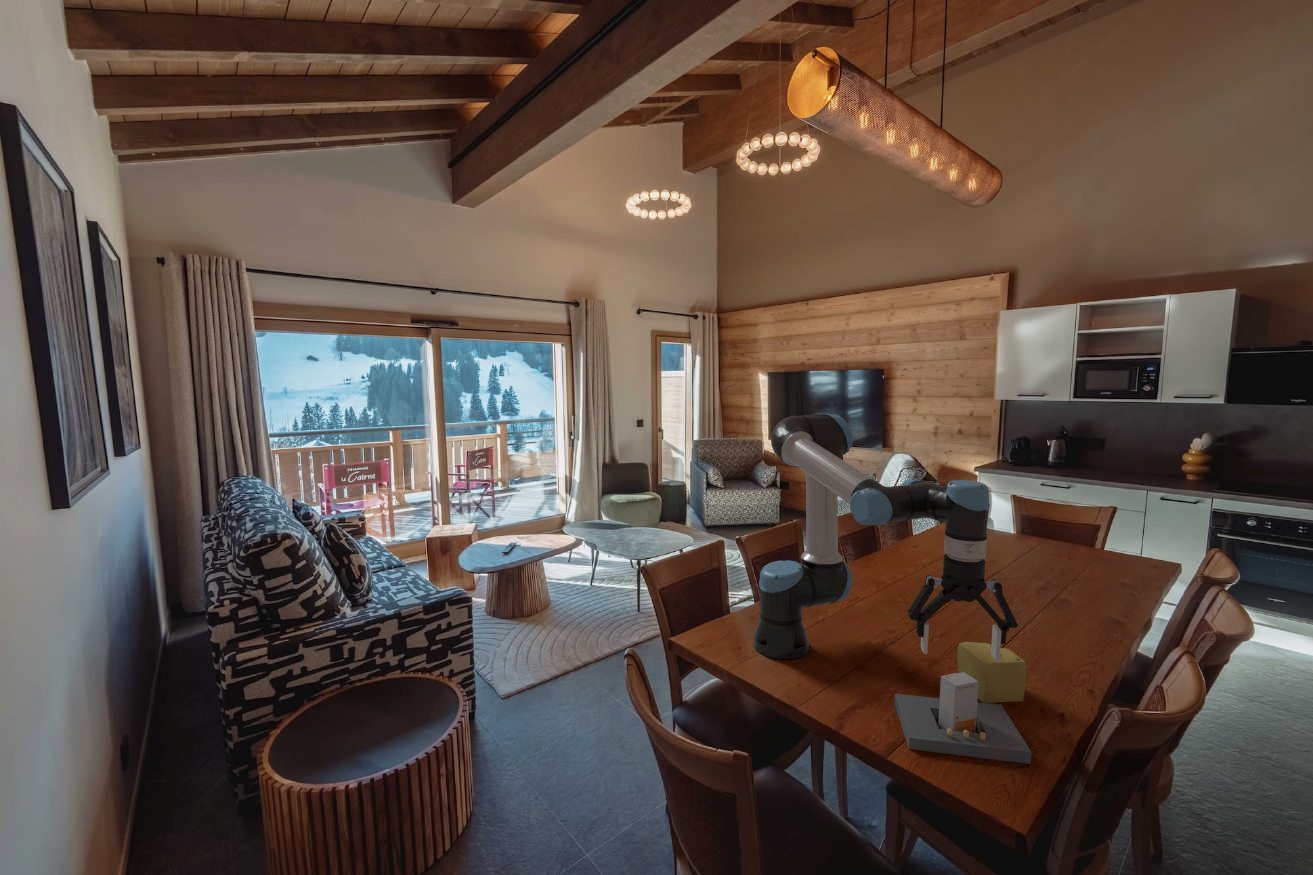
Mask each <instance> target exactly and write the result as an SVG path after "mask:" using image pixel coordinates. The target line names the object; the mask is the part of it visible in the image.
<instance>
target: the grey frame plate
mask: <svg viewBox="0 0 1313 875" xmlns="http://www.w3.org/2000/svg"><path fill="white" fill-rule="evenodd" d="M939 704H940V697H929V696H919V695H913V694H912V695H910V694H903V693H902V694H901V693H894V706H895V710H896V712H897V716H898V718H899V721H900V725H901V728H902V732H903V736H904V738H905V741H906V744H907V747H908V750H911V751H912V750H913V751H921V752H929V753H930V752H931V753H937V754H939V753H940V754H945V755H953V756H954V755H955V756H963V757H970V758H976V759H977V758H978V759H985V760H995V761H1002V762H1010V763H1018V764H1027V765H1031V764H1032V750H1031V749H1030V748H1029V746H1028V744H1027V742H1026V741H1025V740H1024V738H1023V736H1022V735H1021V733H1020V732H1019V730H1018V729H1017V727H1016V725H1015V724H1014V723H1013V721H1012V719H1011V718H1010V716H1009V715H1008V713H1007V712H1006V710H1005V708H1004V707H1003V705H1002V704H997V703H983V702H981V701H980V702H978V701H977V717H976V729H977V731H978V732H979V733H978V732H976V733H972V732H969V731H968V730H964V731H954V730H953V729H951V728H947V730H946V729H940V728H939V727H938V723H937V721H936V720H939Z"/></svg>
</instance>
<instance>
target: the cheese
mask: <svg viewBox="0 0 1313 875" xmlns="http://www.w3.org/2000/svg"><path fill="white" fill-rule="evenodd" d="M991 644H992V643H991ZM991 644H990V643H987V642H973V641H963V642H959V643H958V648H957V654H956V655H957V668H958V669H957V670H958V673H962V672H965V673H966V674H968V675H969V676H971V677H972V678H974V679H975V680H977V681H978V682H979V684H978V699H979V700H980V702H981V703H989V704H997V703H1009V702H1024V698H1025V690H1026V689H1025V688H1026V669H1027V668H1026V666H1027V664H1026V661H1024V659H1022V658H1021V657H1019V655H1017V654H1016V653H1015V652H1013V651H1012V650H1010V649H1009V648H1005V647H1004V648H1003V647H1000V661H995V659H994V658H993V656H992V655H991Z"/></svg>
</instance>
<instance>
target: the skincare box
mask: <svg viewBox="0 0 1313 875" xmlns="http://www.w3.org/2000/svg"><path fill="white" fill-rule="evenodd" d="M978 684H979V682H978V681H977V680H975V679H974V678H972V677H971V676H969V675H968V674H966V673H965V672H962V673H959V672H958V673H957V672H956V673H950V674H945V675H941V676H940V684H939V685H940V687H939V688H940V689H939V698H940V704H939V719H938V723H937V725H938V728H939V729H946V730H947V728H951V729H953V730H954V731H964V730H968V731H969V732H972V733H977V732H976V731H977V730H976V729H977V727H976V717H977V702H978V699H979V698H978Z"/></svg>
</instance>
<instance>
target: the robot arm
mask: <svg viewBox="0 0 1313 875" xmlns="http://www.w3.org/2000/svg"><path fill="white" fill-rule="evenodd" d="M770 436H771V437H770V443H771V444H770V445H771V448H772V451H773V452H774V454H775V455H776V456H777V457H778V459H780V460H781V461H782V462H784V463H785V464H786V465H788V466H791V467H797V468H798V469H799V470H801V471H802V472H804V473H805V493H806V494H805V508H806V509H805V511H806V512H805V513H806V514H805V516H806V518H805V519H806V520H805V521H806V522H805V524H806V526H805V527H806V528H805V530H806V531H805V532H806V538H805V540H806V541H805V542H806V549H805V551H804V552H802V554H801V555H800V563H799V562H797V561H793V560H783V559H782V560H776V561H772V562H769V563H767V564H766V565H764V566H763V567H762V568H761V570H760V574H759V582H758V586H759V619H758V623H757V626H756V628H755V631H754V633H753V647H754V649H755V650H756V652H758V653H760V654H762V656H763V655H764V656H766V657H768V658H771V659H772V658H773V659H778V660H794V659H795V660H796V659H799V658H801V657H803V656H805V655H806V654H808V652H809V648H810V647H809V646H810V645H809V643H810V642H809V639H808V638H809V637H808V635H807V632H806V628H805V625H804V623H803V609H807V608H812V607H817V606H818V607H819V606H823V605H828V604H831V605H833V604H835V603H837V602H840V601H843V600H845V599H846V598H848V596H849V594H850V593H851V591H852V587H853V574H852V572H851V571H850V569H851V568H850V566H849V564H847V562H846V561H844V557H843V555H841V553H840V552H839V551H838V550H839V546H838V542H839V536H838V533H839V532H838V531H839V530H838V529H839V527H838V526H839V524H838V523H839V519H838V517H839V516H838V515H839V514H838V510H839V508H838V507H839V504H838V498H840V499H842V500H843V501H844V502H845V503H847V504H848V505H849V509H850V510H849V511H850V513H851V515H852V516H853V519H854V520H855V521H856V522H857V523H858V524H860V525H861V526H862V525H863V526H880V525H885V524H890V523H891V524H893V523H897V522H903V521H913V520H919V519H930V520H933V521H937V522H941V523H944V543H943V544H944V545H943V546H944V547H943V552H944V553H945V554H944V555H943V564H942V565H943V566H942V567H943V568H942V576H941V577H940V578H939V577H934V576H932V575H931V574H927V575H926V576H925V581H924V584H923V586H922V587H921V590H920V591H919V592H918V595H917V596H916V597H915V599H914V601H913V602H912V604H911V605H910V607H909V609H908V610H907V615H908V617H909V619H910V620H912V621H916V625H915V626H916V634H917V637H919V638H920V649H921V651H922V653H923V655H928V653H929V652H928V651H929V649H928V646H929V630H930V628H929V627H930V625H929V623H928V620H929V619H930V618H931V617H933V615H935V614H936V613H937V612H938V611H939V610H940V609H941V608H942V607H944V605H946V604H948V603H950V602H951V601H952V600H953V601H955V602H966V603H973V602H974V601H977V603H979V604H980V606H981V607H982V608H983V609H984V610H985V611H986V613H988V615H989V616H990V617H991V619H993V621H995V624H992V632H991V655H992V656H993V658H994V659H995V661H1000V648H1001V645H1005V644H1006V643H1007V633H1008V632H1009V631H1010V628H1011V629H1017V628H1018V623H1017V620H1016V617H1015V616H1014V614H1013V612H1012V610H1011V608H1010V606H1009V604H1008V602H1007V600H1006V598H1005V595H1004V594H1003V593H1004V592H1003V585H1002V584H1001V582H999V580H998V579H997V578H992V579H991V580H985V576H986V561H985V558H986V555H987V554H986V553H987V536H988V534H987V530H988V521H989V510H990V508H991V507H990V506H991V505H990V492H989V491H990V489H989V487H988V485H986V484H985V483H984V482H980V481H977V480H968V479H953V480H950V481H949V482H948V483H947V485H946V486H944V485H940V484H936V483H931V482H928V481H926V480H922V479H921V480H917V479H908V480H906V481H904V482H903V483H901V484H900V485H892V486H886V485H883V484H882V483H880V482H878V481H877V480H874V479H873V478H871V477H869V476H868V475H867V474H866V473H864V472H862V471H860V470H859V469H857V468H855V467H854V466H853V465H851V464H849V463H848V462H846V461H845V460H844V455H846V454H848V453H849V452H850V449H851V448H853V447H852V446H853V441H854V440H853V438H854V437H853V433H852V429H851V427H850V424H849V423H847V421H846V420H845V418H843V417H842V416H840V415H837V414H833V413H832V414H829V413H822V414H821V413H820V414H807V415H791V416H787V417H785V418H783V419H781V420H780V421H779V422H778V423H777V424H776V425H775V426H774V428H773V430H772V433H771V435H770ZM939 585H940V586H942V589H941V590H940V591H939V592H938V595H936V596H935V597H933V599H931V601H930V602H929V603H928V604H926V603H927V602H928V600H929V598H930V597H931V595H932V593H933V592H934V589H937V588H938V586H939ZM987 589H988V590H989V591H990V592H991V593H992V594H993V596H994V598H995V600H996V602H997V604H998V605H999V608H1000V609H1001V612H1002V613H1003V616H1004V618H1005V619H1002V618H1001V617H1000V616H999V614H998V613H997V612H996V611H995V610H994V609H993V608H992V606H991V605H990V604H989V603H988V602H987V601H986V600H985V599H984V597H983V596H982V595H981V594H982V593H983V592H985V590H987Z"/></svg>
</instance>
